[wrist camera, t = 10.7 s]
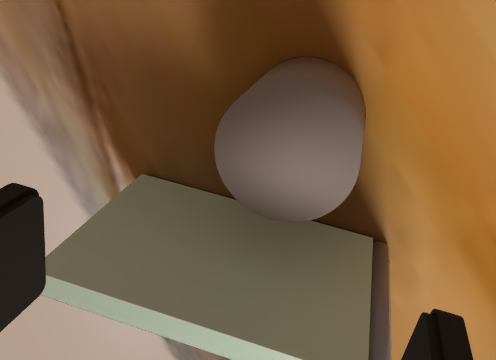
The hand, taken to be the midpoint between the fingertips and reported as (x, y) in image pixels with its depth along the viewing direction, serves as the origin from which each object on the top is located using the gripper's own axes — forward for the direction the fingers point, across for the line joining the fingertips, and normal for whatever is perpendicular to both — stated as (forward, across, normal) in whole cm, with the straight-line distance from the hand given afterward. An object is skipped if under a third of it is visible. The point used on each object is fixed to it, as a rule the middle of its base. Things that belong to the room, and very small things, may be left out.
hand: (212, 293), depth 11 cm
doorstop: (+15, 0, 0) cm, 15 cm away
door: (+15, +1, +6) cm, 16 cm away
